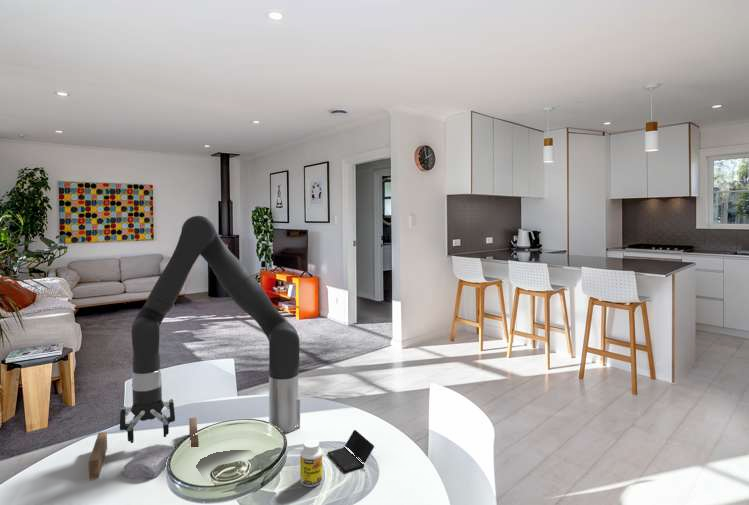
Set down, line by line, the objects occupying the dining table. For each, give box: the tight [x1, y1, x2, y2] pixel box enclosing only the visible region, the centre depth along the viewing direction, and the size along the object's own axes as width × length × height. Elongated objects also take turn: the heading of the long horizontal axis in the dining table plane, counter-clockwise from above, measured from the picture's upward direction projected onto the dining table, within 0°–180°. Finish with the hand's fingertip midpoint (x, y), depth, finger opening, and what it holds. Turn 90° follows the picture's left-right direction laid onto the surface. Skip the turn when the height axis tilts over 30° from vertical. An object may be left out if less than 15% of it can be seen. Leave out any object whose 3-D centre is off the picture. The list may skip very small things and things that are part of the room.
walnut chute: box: [88, 417, 200, 481], centre depth 126 cm, size 26×16×5 cm, turn 114°
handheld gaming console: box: [327, 429, 375, 474], centre depth 125 cm, size 12×7×10 cm
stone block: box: [123, 444, 176, 480], centre depth 120 cm, size 12×5×10 cm
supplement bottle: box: [299, 439, 323, 488], centre depth 114 cm, size 6×6×10 cm
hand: (148, 438), depth 130 cm, fingers open, 8 cm apart
